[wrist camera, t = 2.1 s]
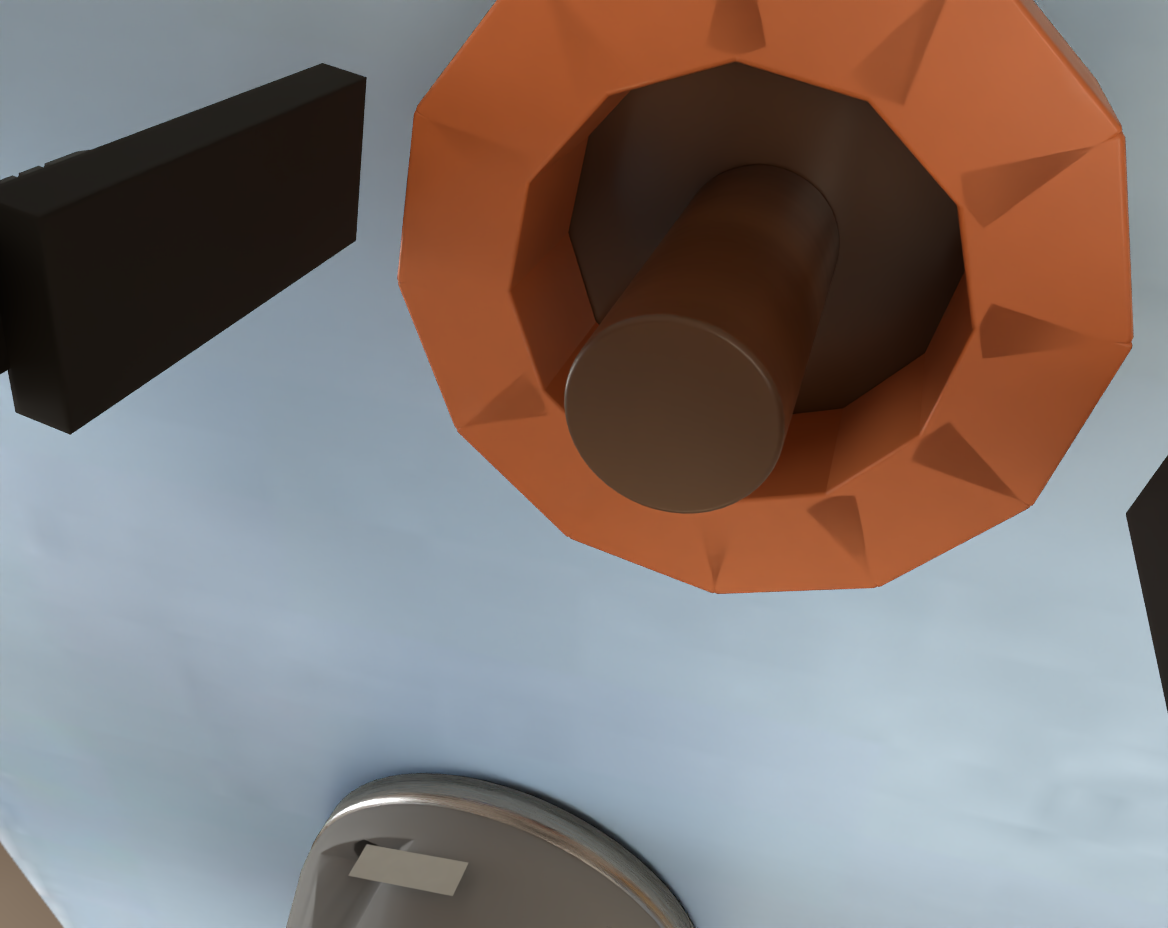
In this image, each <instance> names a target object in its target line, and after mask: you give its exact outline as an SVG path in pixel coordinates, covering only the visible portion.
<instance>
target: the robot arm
mask: <svg viewBox="0 0 1168 928" xmlns="http://www.w3.org/2000/svg"><path fill="white" fill-rule="evenodd" d="M366 78H367V77H364V76H361V75H358V74H355V73H352V72H348V71H345V70H342V69H339V68H336V67H333V66H330V65H327V64H324V63H321V64H319V65H316V66H313V67H311V68H308V69H305V70H303V71H300V72H297V73H295V74H292V75H289V76H287V77H284V78H281V79H279V80H276V81H273V82H271V83H268V84H265V85H263V86H260V87H257V88H255V89H252V90H249V91H247V92H244V93H241V94H239V95H236V96H233V97H231V98H228V99H225V100H223V101H220V102H217V103H215V104H212V105H209V106H207V107H204V108H201V109H199V110H196V111H193V112H191V113H188V114H185V115H183V116H180V117H177V118H175V119H172V120H169V121H167V122H164V123H161V124H159V125H156V126H153V127H151V128H148V129H145V130H143V131H140V132H137V133H135V134H132V135H129V136H127V137H124V138H121V139H119V140H116V141H113V142H111V143H108V144H105V145H103V146H100V147H97V148H95V149H92V150H85V151H78V152H74V153H72V154H69V155H66V156H64V157H61V158H58V159H56V160H53V161H50V162H47V163H45V166H44V168H43V167H41V166H37V167H34V168H31V169H29V170H26V171H23V172H21V173H19V176H18V177H15V176H10V177H7V178H4V179H2V180H0V374H1V373H3V372H5V371H7V370H8V374H9V380H10V385H11V390H12V396H13V401H14V406H15V412H16V413H18V414H21V415H23V416H26V417H28V418H31V419H33V420H36V421H38V422H41V423H43V424H46V425H48V426H50V427H53V428H55V429H58V430H60V431H63V432H65V433H68V434H70V435H71V434H72V433H74V432H75V431H76V430H78V429H79V428H81V427H82V426H84V425H85V424H87V423H88V422H90V421H91V420H93V419H94V418H96V417H97V416H99V415H100V414H101V413H103V412H104V411H106V410H107V409H109V408H110V407H112V406H113V405H115V404H116V403H118V402H119V401H121V400H122V399H124V398H125V397H126V396H128V395H129V394H131V393H132V392H134V391H135V390H137V389H138V388H140V387H141V386H143V385H144V384H146V383H147V382H149V381H150V380H151V379H153V378H154V377H156V376H157V375H159V374H160V373H162V372H163V371H165V370H166V369H168V368H169V367H171V366H172V365H174V364H175V363H176V362H178V361H179V360H181V359H182V358H184V357H185V356H187V355H188V354H190V353H191V352H193V351H194V350H196V349H197V348H199V347H200V346H201V345H203V344H204V343H206V342H207V341H209V340H210V339H212V338H213V337H215V336H216V335H218V334H219V333H221V332H222V331H224V330H225V329H226V328H228V327H229V326H231V325H232V324H234V323H235V322H237V321H238V320H240V319H241V318H243V317H244V316H246V315H247V314H249V313H250V312H251V311H253V310H254V309H256V308H257V307H259V306H260V305H262V304H263V303H265V302H266V301H268V300H269V299H271V298H272V297H274V296H275V295H276V294H278V293H279V292H281V291H282V290H284V289H285V288H287V287H288V286H290V285H291V284H293V283H294V282H296V281H297V280H298V279H300V278H301V277H303V276H304V275H306V274H307V273H309V272H310V271H312V270H313V269H315V268H316V267H318V266H319V265H321V264H322V263H323V262H325V261H326V260H328V259H329V258H331V257H332V256H334V255H335V254H337V253H338V252H340V251H341V250H343V249H344V248H346V247H347V246H348V245H350V244H351V243H353V242H354V241H356V232H357V216H358V201H359V186H360V170H361V155H362V139H363V124H364V109H365V93H366ZM1126 517H1127V522H1128V527H1129V531H1130V536H1131V541H1132V545H1133V550H1134V555H1135V560H1136V564H1137V569H1138V574H1139V579H1140V583H1141V588H1142V593H1143V598H1144V602H1145V607H1146V612H1147V617H1148V621H1149V626H1150V631H1151V635H1152V640H1153V645H1154V650H1155V654H1156V659H1157V664H1158V669H1159V673H1160V678H1161V683H1162V688H1163V692H1164V697H1165V702H1166V707H1167V711H1168V456H1167V457H1166V458H1165V460H1164V461H1163V462H1162V464H1161V465H1160V467H1159V468H1158V469H1157V471H1156V472H1155V474H1154V475H1153V476H1152V478H1151V479H1150V481H1149V482H1148V483H1147V485H1146V486H1145V488H1144V489H1143V490H1142V492H1141V493H1140V495H1139V496H1138V497H1137V499H1136V500H1135V502H1134V503H1133V504H1132V506H1131V507H1130V508H1129V510H1128V511H1127V513H1126ZM286 928H694V926H693V924H692V922H691V921H690V919H689V917H688V915H687V914H686V912H685V911H684V909H683V908H682V906H681V905H680V903H679V902H678V900H677V899H676V898H675V897H674V895H673V894H672V893H671V892H670V890H669V889H668V888H667V887H666V886H665V885H664V884H663V883H662V881H661V880H660V879H659V878H658V877H657V876H656V875H655V874H654V873H653V872H652V871H651V870H650V869H649V868H648V867H646V866H645V865H644V864H643V863H642V862H641V861H640V860H639V859H638V858H636V857H635V856H634V855H633V854H631V853H630V852H629V851H628V850H626V849H625V848H624V847H623V846H621V845H620V844H619V843H617V842H616V841H614V840H613V839H612V838H610V837H609V836H607V835H606V834H604V833H603V832H601V831H600V830H598V829H597V828H595V827H593V826H592V825H590V824H589V823H587V822H585V821H583V820H582V819H580V818H578V817H576V816H574V815H573V814H571V813H569V812H567V811H565V810H563V809H561V808H559V807H557V806H555V805H552V804H550V803H548V802H546V801H543V800H541V799H539V798H536V797H534V796H531V795H529V794H526V793H523V792H521V791H517V790H515V789H512V788H508V787H505V786H502V785H498V784H495V783H491V782H487V781H483V780H479V779H473V778H468V777H462V776H455V775H447V774H432V773H416V774H402V775H395V776H389V777H385V778H382V779H378V780H374V781H372V782H369V783H367V784H365V785H362V786H361V787H359V788H357V789H355V790H354V791H352V792H351V793H350V794H348V795H347V796H346V797H345V798H343V799H342V801H341V802H340V803H339V804H338V805H337V806H336V808H335V809H334V811H333V812H332V814H331V816H330V817H329V819H328V820H327V822H326V823H325V825H324V826H323V828H322V830H321V831H320V833H319V834H318V836H317V838H316V839H315V841H314V843H313V845H312V848H311V851H310V852H309V854H308V856H307V859H306V861H305V863H304V866H303V868H302V870H301V873H300V877H299V881H298V885H297V888H296V892H295V896H294V900H293V903H292V907H291V911H290V915H289V918H288V922H287V926H286Z"/></svg>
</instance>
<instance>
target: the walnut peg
mask: <svg viewBox="0 0 1168 928" xmlns="http://www.w3.org/2000/svg"><path fill="white" fill-rule="evenodd" d="M568 234H569V237H570V240H571V243H572V247H573V250H574V253H575V256H576V260H577V263H578V266H579V269H580V273H581V276H582V279H583V282H584V286H585V289H586V292H587V295H588V299H589V302H590V305H591V308H592V312H593V315H594V318H595V321H596V322H597V323H598V324H599V326H598V327H597V329H596V330H595V331H594V333H593V334H592V335H591V337H590V338H589V339H588V341H587V342H586V343H585V345H584V346H583V348H582V349H581V350H580V352H579V353H578V355H577V356H576V358H575V360H574V362H573V364H572V366H571V368H570V370H569V374H568V377H567V380H566V386H565V392H564V408H565V415H566V422H567V425H568V429H569V433H570V435H571V438H572V440H573V443H574V445H575V447H576V448H577V450H578V452H579V454H580V456H581V457H582V458H583V460H584V461H585V463H586V464H587V465H588V467H589V468H590V469H591V470H592V471H593V472H594V473H595V474H596V475H597V477H599V478H600V479H601V480H602V481H603V482H604V483H605V484H606V485H608V486H609V487H610V488H612V489H613V490H615V491H616V492H617V493H619V494H621V495H622V496H624V497H626V498H628V499H630V500H632V501H634V502H636V503H638V504H641V505H643V506H646V507H649V508H652V509H656V510H660V511H665V512H671V513H681V514H691V513H703V512H710V511H714V510H718V509H722V508H724V507H727V506H729V505H732V504H734V503H736V502H738V501H739V500H741V499H743V498H745V497H747V496H748V495H749V494H751V493H752V492H753V491H755V490H756V489H757V488H758V487H759V486H760V485H761V484H762V483H763V482H764V481H765V480H766V479H767V478H768V476H769V475H770V473H771V472H772V471H773V469H774V467H775V465H776V463H777V461H778V459H779V457H780V454H781V451H782V448H783V445H784V441H785V438H786V435H787V431H788V428H789V424H790V421H791V418H792V414H799V413H807V412H816V411H825V410H834V409H843V408H845V407H846V406H848V405H849V404H850V403H852V402H853V401H855V400H856V399H858V398H859V397H861V396H862V395H864V394H865V393H867V392H868V391H870V390H871V389H873V388H874V387H876V386H877V385H879V384H880V383H882V382H883V381H885V380H886V379H887V378H889V377H890V376H892V375H893V374H895V373H896V372H898V371H899V370H901V369H902V368H904V367H905V366H907V365H908V364H910V363H911V362H913V361H914V360H916V359H917V358H919V357H920V356H921V355H923V354H924V353H925V352H926V350H927V348H928V346H929V344H930V342H931V340H932V338H933V336H934V333H935V331H936V329H937V327H938V325H939V323H940V321H941V319H942V317H943V315H944V313H945V311H946V309H947V307H948V305H949V302H950V300H951V298H952V296H953V294H954V292H955V290H956V288H957V286H958V284H959V282H960V280H961V278H962V276H963V274H964V271H965V269H964V261H963V252H962V244H961V236H960V228H959V219H958V211H957V205H956V204H955V203H954V202H953V200H952V199H951V198H950V197H949V196H948V195H947V193H946V192H945V191H944V190H943V189H942V188H941V186H940V185H939V184H938V183H937V182H936V181H935V180H934V178H933V177H932V176H931V175H930V174H929V173H928V171H927V170H926V169H925V168H924V167H923V166H922V164H921V163H920V162H919V161H918V160H917V159H916V157H915V156H914V155H913V154H912V153H911V152H910V150H909V149H908V148H907V147H906V146H905V145H904V143H903V142H902V141H901V140H900V139H899V138H898V137H897V135H896V134H895V133H894V132H893V131H892V130H891V128H890V127H889V126H888V125H887V124H886V123H885V121H884V120H883V119H882V118H881V117H880V116H879V114H878V113H877V112H876V111H875V110H874V109H873V107H872V106H871V105H870V104H869V103H868V102H867V101H863V100H860V99H857V98H853V97H850V96H847V95H844V94H840V93H837V92H834V91H830V90H827V89H824V88H820V87H817V86H814V85H811V84H807V83H804V82H801V81H797V80H794V79H791V78H788V77H784V76H781V75H778V74H774V73H771V72H768V71H765V70H761V69H758V68H755V67H751V66H748V65H745V64H742V63H738V62H733V63H729V64H725V65H722V66H718V67H714V68H711V69H707V70H703V71H700V72H696V73H692V74H689V75H685V76H681V77H677V78H674V79H670V80H666V81H663V82H659V83H655V84H652V85H648V86H644V87H641V88H637V89H633V90H631V91H630V92H629V93H628V94H627V95H626V96H625V97H624V98H623V99H622V100H621V101H620V102H619V104H618V105H617V106H616V107H615V108H614V109H613V110H612V111H611V112H610V113H609V114H608V116H607V117H606V118H605V119H604V120H603V121H602V122H601V123H600V124H599V125H598V126H597V128H596V129H595V130H594V131H593V132H592V133H591V134H590V135H589V136H588V141H587V146H586V150H585V155H584V160H583V165H582V169H581V174H580V179H579V184H578V188H577V193H576V198H575V203H574V207H573V212H572V217H571V222H570V226H569V231H568Z"/></svg>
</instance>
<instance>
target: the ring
mask: <svg viewBox="0 0 1168 928" xmlns="http://www.w3.org/2000/svg"><path fill="white" fill-rule="evenodd" d="M733 62H738V63H742V64H745V65H748V66H751V67H755V68H758V69H761V70H765V71H768V72H771V73H774V74H778V75H781V76H784V77H788V78H791V79H794V80H797V81H801V82H804V83H807V84H811V85H814V86H817V87H820V88H824V89H827V90H830V91H834V92H837V93H840V94H844V95H847V96H850V97H853V98H857V99H860V100H863V101H867V102H868V103H869V104H870V105H871V106H872V107H873V109H874V110H875V111H876V112H877V113H878V114H879V116H880V117H881V118H882V119H883V120H884V121H885V123H886V124H887V125H888V126H889V127H890V128H891V130H892V131H893V132H894V133H895V134H896V135H897V137H898V138H899V139H900V140H901V141H902V142H903V143H904V145H905V146H906V147H907V148H908V149H909V150H910V152H911V153H912V154H913V155H914V156H915V157H916V159H917V160H918V161H919V162H920V163H921V164H922V166H923V167H924V168H925V169H926V170H927V171H928V173H929V174H930V175H931V176H932V177H933V178H934V180H935V181H936V182H937V183H938V184H939V185H940V186H941V188H942V189H943V190H944V191H945V192H946V193H947V195H948V196H949V197H950V198H951V199H952V200H953V202H954V203H955V204H956V205H957V211H958V219H959V228H960V236H961V244H962V252H963V261H964V269H965V271H964V274H963V276H962V278H961V280H960V282H959V284H958V286H957V288H956V290H955V292H954V294H953V296H952V298H951V300H950V302H949V305H948V307H947V309H946V311H945V313H944V315H943V317H942V319H941V321H940V323H939V325H938V327H937V329H936V331H935V333H934V336H933V338H932V340H931V342H930V344H929V346H928V348H927V350H926V352H925V353H924V354H923V355H921V356H920V357H919V358H917V359H916V360H914V361H913V362H911V363H910V364H908V365H907V366H905V367H904V368H902V369H901V370H899V371H898V372H896V373H895V374H893V375H892V376H890V377H889V378H887V379H886V380H885V381H883V382H882V383H880V384H879V385H877V386H876V387H874V388H873V389H871V390H870V391H868V392H867V393H865V394H864V395H862V396H861V397H859V398H858V399H856V400H855V401H853V402H852V403H850V404H849V405H848V406H846V407H845V408H843V409H834V410H825V411H816V412H807V413H799V414H792V418H791V421H790V424H789V428H788V431H787V435H786V438H785V441H784V445H783V448H782V451H781V454H780V457H779V459H778V461H777V463H776V465H775V467H774V469H773V471H772V472H771V473H770V475H769V476H768V478H767V479H766V480H765V481H764V482H763V483H762V484H761V485H760V486H759V487H758V488H757V489H756V490H755V491H753V492H752V493H751V494H749V495H748V496H747V497H745V498H743V499H741V500H739V501H738V502H736V503H734V504H732V505H729V506H727V507H724V508H722V509H718V510H714V511H710V512H703V513H691V514H681V513H671V512H665V511H660V510H656V509H652V508H649V507H646V506H643V505H641V504H638V503H636V502H634V501H632V500H630V499H628V498H626V497H624V496H622V495H621V494H619V493H617V492H616V491H615V490H613V489H612V488H610V487H609V486H608V485H606V484H605V483H604V482H603V481H602V480H601V479H600V478H599V477H597V475H596V474H595V473H594V472H593V471H592V470H591V469H590V468H589V467H588V465H587V464H586V463H585V461H584V460H583V458H582V457H581V456H580V454H579V452H578V450H577V448H576V447H575V445H574V443H573V440H572V438H571V435H570V433H569V429H568V425H567V422H566V415H565V408H564V392H565V386H566V380H567V377H568V374H569V370H570V368H571V366H572V364H573V362H574V360H575V358H576V356H577V355H578V353H579V352H580V350H581V349H582V348H583V346H584V345H585V343H586V342H587V341H588V339H589V338H590V337H591V335H592V334H593V333H594V331H595V330H596V329H597V327H598V326H599V324H598V323H597V322H596V321H595V318H594V315H593V312H592V308H591V305H590V302H589V299H588V295H587V292H586V289H585V286H584V282H583V279H582V276H581V273H580V269H579V266H578V263H577V260H576V256H575V253H574V250H573V247H572V243H571V240H570V237H569V234H568V231H569V226H570V222H571V217H572V212H573V207H574V203H575V198H576V193H577V188H578V184H579V179H580V174H581V169H582V165H583V160H584V155H585V150H586V146H587V141H588V136H589V135H590V134H591V133H592V132H593V131H594V130H595V129H596V128H597V126H598V125H599V124H600V123H601V122H602V121H603V120H604V119H605V118H606V117H607V116H608V114H609V113H610V112H611V111H612V110H613V109H614V108H615V107H616V106H617V105H618V104H619V102H620V101H621V100H622V99H623V98H624V97H625V96H626V95H627V94H628V93H629V92H630V91H631V90H633V89H637V88H641V87H644V86H648V85H652V84H655V83H659V82H663V81H666V80H670V79H674V78H677V77H681V76H685V75H689V74H692V73H696V72H700V71H703V70H707V69H711V68H714V67H718V66H722V65H725V64H729V63H733ZM397 279H398V285H399V288H400V290H401V293H402V295H403V298H404V300H405V303H406V305H407V308H408V310H409V313H410V315H411V318H412V320H413V323H414V325H415V328H416V330H417V333H418V335H419V338H420V340H421V343H422V345H423V348H424V350H425V353H426V355H427V358H428V360H429V363H430V365H431V368H432V370H433V373H434V375H435V378H436V381H437V383H438V386H439V388H440V391H441V393H442V396H443V398H444V401H445V403H446V406H447V408H448V411H449V413H450V416H451V418H452V421H453V423H454V426H455V427H456V429H457V431H458V433H459V434H461V435H462V436H463V437H464V438H465V439H466V440H467V441H468V442H469V443H470V444H471V445H472V446H473V447H474V448H475V449H476V450H477V451H478V452H479V453H480V454H481V455H482V456H483V457H484V458H485V459H487V460H488V461H489V462H490V463H491V464H492V465H493V466H494V467H495V468H496V469H497V470H498V471H499V472H500V473H501V474H502V475H503V476H504V477H505V478H506V479H507V480H508V481H509V482H510V483H511V484H513V485H514V486H515V487H516V488H517V489H518V490H519V491H520V492H521V493H522V494H523V495H524V496H525V497H526V498H527V499H528V500H529V501H530V502H531V503H532V504H533V505H534V506H535V507H536V508H537V509H539V510H540V511H541V512H542V513H543V514H544V515H545V516H546V517H547V518H548V519H549V520H550V521H551V522H552V523H553V524H554V525H555V526H556V527H557V528H558V529H559V530H560V531H561V532H562V533H563V534H565V535H566V536H567V537H570V538H571V539H573V540H576V541H578V542H581V543H583V544H586V545H589V546H591V547H594V548H596V549H599V550H602V551H604V552H607V553H609V554H612V555H615V556H617V557H620V558H622V559H625V560H628V561H630V562H633V563H635V564H638V565H641V566H643V567H646V568H648V569H651V570H654V571H656V572H659V573H661V574H664V575H667V576H669V577H672V578H674V579H677V580H680V581H682V582H685V583H687V584H690V585H693V586H695V587H698V588H700V589H703V590H706V591H708V592H711V593H714V592H715V593H717V594H727V593H753V592H779V591H805V590H832V589H858V588H875V587H877V586H878V587H880V586H882V585H884V584H886V583H888V582H890V581H892V580H894V579H895V578H897V577H899V576H901V575H903V574H905V573H907V572H909V571H911V570H913V569H914V568H916V567H918V566H920V565H922V564H924V563H926V562H928V561H930V560H931V559H933V558H935V557H937V556H939V555H941V554H943V553H945V552H947V551H948V550H950V549H952V548H954V547H956V546H958V545H960V544H962V543H964V542H966V541H967V540H969V539H971V538H973V537H975V536H977V535H979V534H981V533H983V532H984V531H986V530H988V529H990V528H992V527H994V526H996V525H998V524H1000V523H1001V522H1003V521H1005V520H1007V519H1009V518H1011V517H1013V516H1015V515H1017V514H1019V513H1020V512H1022V511H1024V510H1026V509H1028V508H1029V507H1030V506H1032V505H1033V504H1034V503H1035V501H1036V500H1037V498H1038V497H1039V495H1040V493H1041V492H1042V490H1043V489H1044V487H1045V485H1046V484H1047V482H1048V481H1049V479H1050V477H1051V476H1052V474H1053V473H1054V471H1055V469H1056V468H1057V466H1058V465H1059V463H1060V462H1061V460H1062V458H1063V457H1064V455H1065V454H1066V452H1067V450H1068V449H1069V447H1070V446H1071V444H1072V442H1073V441H1074V439H1075V438H1076V436H1077V435H1078V433H1079V431H1080V430H1081V428H1082V427H1083V425H1084V423H1085V422H1086V420H1087V419H1088V417H1089V415H1090V414H1091V412H1092V411H1093V409H1094V407H1095V406H1096V404H1097V403H1098V401H1099V400H1100V398H1101V396H1102V395H1103V393H1104V392H1105V390H1106V388H1107V387H1108V385H1109V384H1110V382H1111V380H1112V379H1113V377H1114V376H1115V374H1116V372H1117V371H1118V369H1119V368H1120V366H1121V365H1122V363H1123V361H1124V360H1125V358H1126V357H1127V355H1128V353H1129V352H1130V350H1131V349H1132V342H1131V341H1132V339H1133V337H1134V336H1133V312H1132V288H1131V264H1130V239H1129V215H1128V191H1127V167H1126V143H1125V136H1124V134H1123V132H1122V126H1121V124H1120V122H1119V120H1118V118H1117V116H1116V115H1115V113H1114V111H1113V109H1112V107H1111V105H1110V104H1109V102H1108V100H1107V98H1106V96H1105V94H1104V93H1103V91H1102V89H1101V87H1100V85H1099V83H1098V82H1097V80H1096V78H1095V77H1094V76H1093V75H1092V73H1091V72H1090V71H1089V70H1088V68H1087V67H1086V66H1085V65H1084V63H1083V62H1082V61H1081V60H1080V58H1079V57H1078V56H1077V55H1076V53H1075V52H1074V51H1073V50H1072V48H1071V47H1070V46H1069V45H1068V43H1067V42H1066V41H1065V40H1064V38H1063V37H1062V36H1061V35H1060V33H1059V32H1058V31H1057V30H1056V28H1055V27H1054V26H1053V25H1052V23H1051V22H1050V21H1049V20H1048V18H1047V17H1046V16H1045V15H1044V13H1043V12H1042V11H1041V10H1040V8H1039V7H1038V6H1037V5H1036V3H1035V2H1034V1H1033V0H497V1H496V2H495V3H494V5H493V6H492V7H491V8H490V10H489V11H488V12H487V14H486V15H485V16H484V18H483V19H482V20H481V22H480V23H479V24H478V26H477V27H476V28H475V30H474V31H473V32H472V34H471V35H470V36H469V38H468V39H467V40H466V42H465V43H464V44H463V46H462V47H461V48H460V50H459V51H458V52H457V54H456V55H455V56H454V58H453V59H452V60H451V62H450V63H449V64H448V65H447V67H446V68H445V69H444V71H443V72H442V73H441V75H440V76H439V77H438V79H437V80H436V81H435V83H434V84H433V85H432V87H431V88H430V89H429V91H428V92H427V93H426V95H425V96H424V97H423V99H422V100H421V101H420V103H419V104H418V105H417V108H416V111H415V113H414V118H413V128H412V138H411V148H410V158H409V167H408V177H407V187H406V197H405V207H404V217H403V226H402V236H401V246H400V256H399V266H398V275H397Z"/></svg>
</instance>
